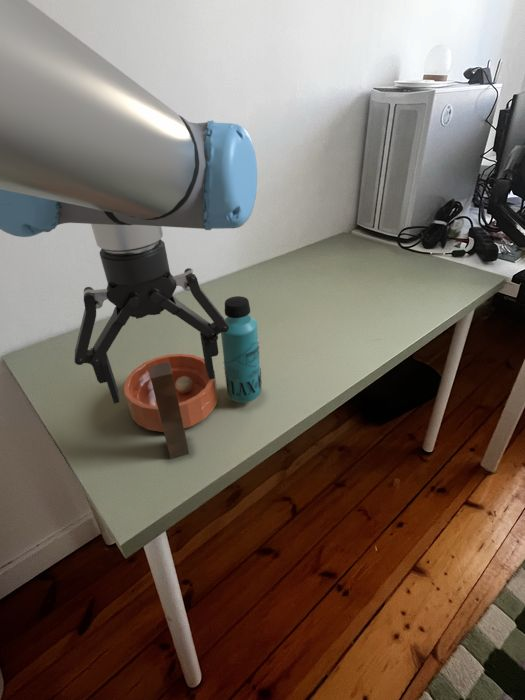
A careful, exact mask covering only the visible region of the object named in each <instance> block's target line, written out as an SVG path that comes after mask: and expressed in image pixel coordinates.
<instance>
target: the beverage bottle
mask: <svg viewBox="0 0 525 700" xmlns="http://www.w3.org/2000/svg"><path fill="white" fill-rule="evenodd" d="M250 313H251V307H250V301H249V299H248V298H247V297H245V296H241V295H239V296H238V295H236V296H235V295H234V296H231V297H228V298H227V299H226V300H225V301H224V315H225V316H226V317H225V318H224V320H225V321H226V323H227V325H228V327H229V329H228V331H227V332H221V333H220V338H221V346H222V354H223V362H222V364H223V370H224V376H225V378H224V379H225V380H224V381H225V385H226V394H227V395H228V397H229V398H230V399H231V400H232V401H234V402H237V403H249V402H252V401H254V400H256V399H257V398H258V397H260V395H261V392H262V389H263V388H262V382H263V381H262V369H261V365H260V364H261V362H260V357H261V356H260V345H259V335H258V327H259V325H258V321H257V320H256V319H255V318H254V317H252V316H250Z"/></svg>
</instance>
